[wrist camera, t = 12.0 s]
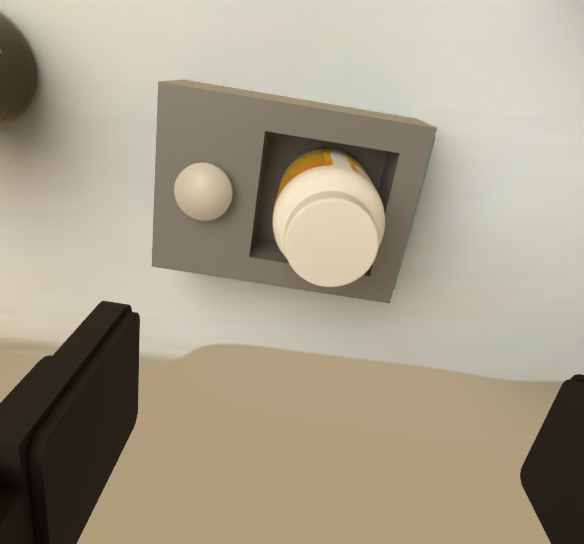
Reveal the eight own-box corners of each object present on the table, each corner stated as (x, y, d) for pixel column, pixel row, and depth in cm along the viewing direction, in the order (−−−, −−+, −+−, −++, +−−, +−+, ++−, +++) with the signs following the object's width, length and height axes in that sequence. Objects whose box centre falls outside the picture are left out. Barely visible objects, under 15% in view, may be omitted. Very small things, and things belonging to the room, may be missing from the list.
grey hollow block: (420, 119, 28) (446, 130, 22) (382, 270, 32) (396, 310, 26) (183, 80, 27) (153, 81, 22) (174, 237, 31) (147, 271, 26)
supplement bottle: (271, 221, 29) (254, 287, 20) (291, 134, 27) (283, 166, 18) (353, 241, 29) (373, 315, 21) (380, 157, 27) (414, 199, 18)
